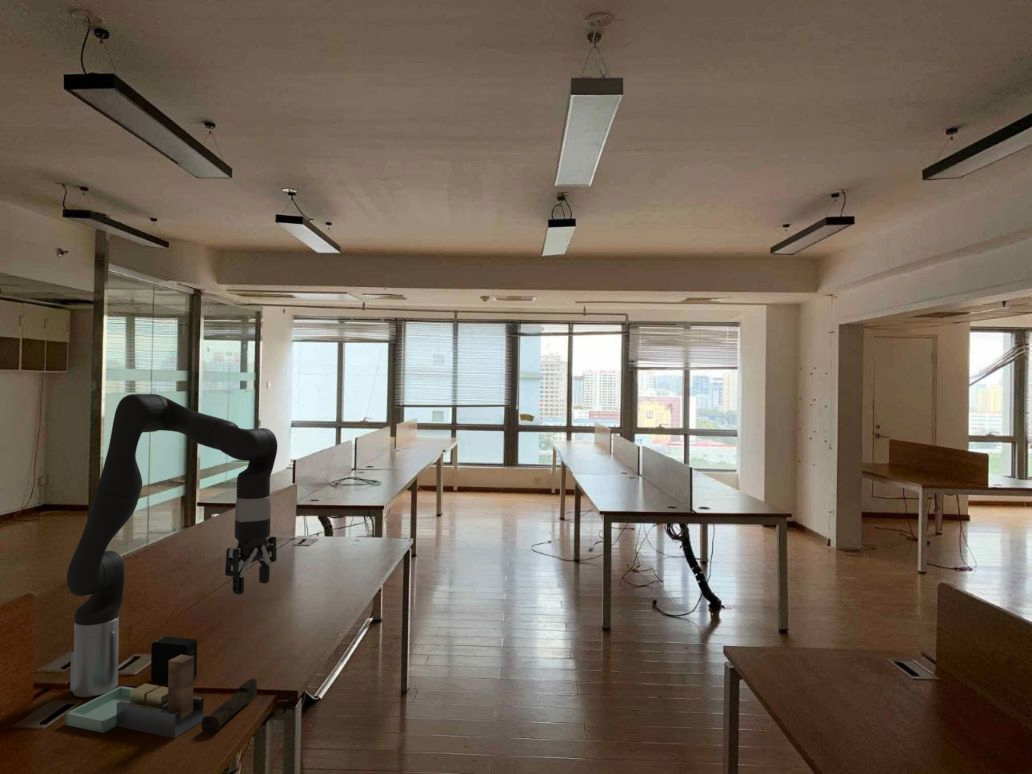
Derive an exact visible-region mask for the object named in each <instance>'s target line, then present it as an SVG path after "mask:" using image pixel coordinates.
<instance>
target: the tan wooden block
mask: <svg viewBox="0 0 1032 774" xmlns="http://www.w3.org/2000/svg"><path fill="white" fill-rule="evenodd" d="M194 681H195V678H194V656H187V655H179V656H177V657H175V658H173V659H171V660H169V669H168V683H167V686H168V703H166V704H165V705H163V707H162V709H164V710H169V711H174V712H179V718H182V717H184V716H186V715H187V714H189V713H190V712H192V711H193V696H194Z"/></svg>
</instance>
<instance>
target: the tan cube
mask: <svg viewBox="0 0 1032 774" xmlns="http://www.w3.org/2000/svg"><path fill="white" fill-rule="evenodd" d="M134 688H135V689H133V690H131V691H130V703H132V704H138V705H143V706H147V694H148V693H150V692H152V691H154V690H156V689H158V688H160V685H157V684H150V683H142V684H141V685H139V686H137V687H134Z"/></svg>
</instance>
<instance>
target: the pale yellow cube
mask: <svg viewBox="0 0 1032 774" xmlns="http://www.w3.org/2000/svg"><path fill="white" fill-rule="evenodd" d="M166 703H168V687H167V686H159V688H158V689H156V690H154V691H152V692H150V693H148V694H147V706H148V707H153V708H158V709H162V707H163V705H165V704H166Z"/></svg>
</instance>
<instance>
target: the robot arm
mask: <svg viewBox="0 0 1032 774" xmlns="http://www.w3.org/2000/svg"><path fill="white" fill-rule="evenodd" d="M158 431H164V432H165V431H167V432H176V433H179V434H183V435H185V436H186V437H187V438H188V439H190V440H191V441H192V442H193V443H196V444H197V445H201V446H204V447H207V448H210V449H214V450H218V451H220V452H221V453H223V454H224V455H227V456H228V457H231V458H232V459H236V460H239V461H246V462H247V461H248V464H247V467H246V468H245V469H244V470H242V471H240V472H239V473H238V475H237V478H236V499H235V500H236V501H235V505H234V506H235V507H234V538H235V539H236V540H237V546H236V547H228V548H227V549H226V551H225V552H226V555H225V569H224V570H225V572H224V575H225V576H226V577H232V592H233V594H235V595H242V594H244V592H245V576H244V575H245V573H246V570H248V568H250V566H251V564H253V563H255V562H256V561H257V563H258V564H259V570H258V582H259V583H260V584H268V583H269V582H270V578H271V577H270V576H271V575H270V574H271V573H270V570H271V566H272V564H273V563H275V562H277V558H278V557H277V537H276V536H272V535H271V520H272V519H271V518H272V517H271V513H272V512H271V511H272V509H271V508H272V507H271V505H272V504H271V498H270V497H271V475H272V472H273V469H274V465H275V462H276V458H277V454H278V441H277V437H276V434H275V433H274V432H273V431H272V430H271V429H269V428H264V427H259V428H258V427H257V428H241V427H239V426H238V425H237V423H235V422H233V421H230V420H227V419H223V418H220V417H216V416H213V415H209V414H205V413H203V412H199V411H198V412H197V411H195V410H193V409H190V408H188V407H186V406H184V405H181V404H180V403H178V402H176V401H174V400H171V399H170V398H168V397H165V396H163V395H160V394H157V393H131V394H127V395H125V396H124V397H122V398H121V399H120V400H119V402H118V404H117V406H116V408H115V411H114V416H113V422H112V428H111V432H110V439H109V444H108V449H107V451H106V456H105V459H104V460H105V461H104V465H103V467H102V470H101V471H102V472H101V474H100V478H99V480H98V483H97V486H96V490H95V492H94V496H93V498H92V504H91V508H90V511H89V514H88V518H87V520H86V523H85V526H84V528H83V532H82V535H81V537H80V539H79V542H78V544H77V547H76V549H75V552H74V553H73V555H72V558H71V560H70V563H69V565H68V568H67V571H66V572H67V573H66V585H67V589H68V590H69V592H70V593H71V594H72V595H74V596H76V597H77V596H78V597H84V596H89V598H88V599H87V600H86V601H85V602H83V603H82V604H81V605H80V606H79V607H78V608H77V609H76V610H75V611H74V628H73V629H74V630H73V631H74V632H73V635H74V636H73V637H74V639H73V651H71V653H70V687H69V689H70V692H72V693H73V696H75V697H80V698H89V697H95V696H99V695H100V696H102V695H104V694H106V693H108V692H110V691H112V690H114V689H116V688H118V685H119V637H120V636H119V632H120V630H119V629H120V626H119V625H120V623H119V622H120V621H119V620H120V609H121V607H122V604H123V601H124V588H125V573H126V572H125V563H124V560H123V559H122V557H121V555H120V554H119V553H118V552H117V551H113V550H107V548H108V547H109V545H110V542H111V541H112V540H113V539H114V537H115V536H116V534H118V532H119V531H120V530H121V529H122V528H123V527H124V525H126V523H127V522H128V521H129V519H130V518H131V517H132V516H133V513H134V512H135V511H136V508H137V506H138V502H139V499H140V496H141V493H142V489H143V478H142V474H141V471H140V468H139V465H138V462H137V458H136V456H137V448H138V445H139V441H140V439H141V436H142V433H153V432H158ZM270 553H271V555H270ZM241 561H242V562H241ZM239 569H240V570H239Z"/></svg>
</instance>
